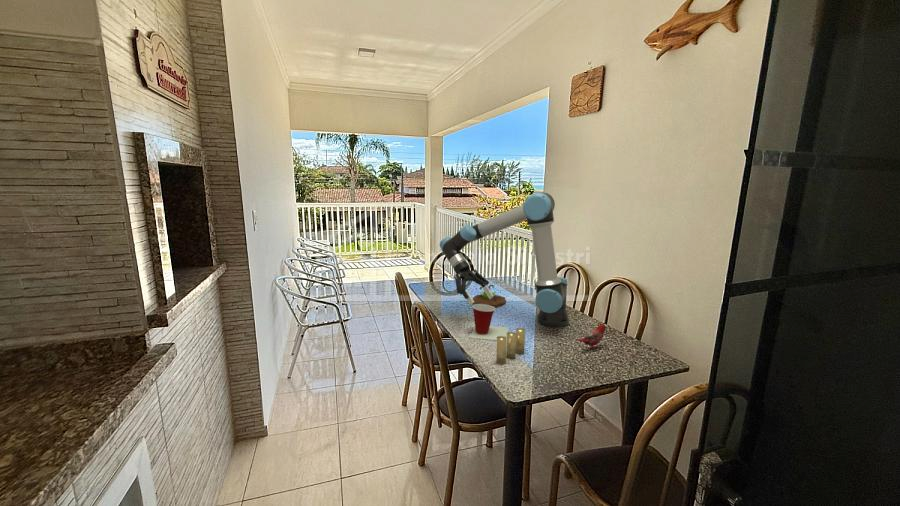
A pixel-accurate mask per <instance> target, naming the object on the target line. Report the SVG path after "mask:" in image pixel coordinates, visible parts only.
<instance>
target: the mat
mask: <svg viewBox="0 0 900 506" xmlns="http://www.w3.org/2000/svg"><path fill="white" fill-rule="evenodd" d="M509 330H510V329H509V327H508V326H497V325H490V326H489V331H488V333H484V334H483V333H477V332H476V330H475V326H474V328H473V329H472V332H471V334H470V336H469V339H470V340H471V339H474V340H484V341H496V342H497V337H498V336H504V337H506V339H507V333H508V332H509Z"/></svg>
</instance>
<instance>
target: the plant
mask: <svg viewBox="0 0 900 506" xmlns="http://www.w3.org/2000/svg"><path fill="white" fill-rule="evenodd" d="M488 287H489V289H490V290H491V287H492V288H493V289H494V288H495V285H494V284H489V285H488ZM479 290H483V287H482V286H480V287H479ZM483 291H484V290H483ZM483 291H482V292H481V293H480V292H479V294H476V295H474V296H473V297H472V299H473V301H474V303H473V304H472V305H474V304H486V305H490V306H493V307H494V308H495V309H498V308H500V307H503V306H505V305H506V303H507V299H506V297H505V296H502V295H498V294H496V291H493V292H491V293H492V294H493V297H492V298H491V299H489V298H488V296H487V294H486V293H485V291H484V292H483ZM472 305H471V306H472Z"/></svg>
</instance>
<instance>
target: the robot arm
mask: <svg viewBox="0 0 900 506" xmlns="http://www.w3.org/2000/svg"><path fill="white" fill-rule="evenodd" d="M555 205H556V202H555V199H554V198H553V196H552V195H551V194H549V193H547V192H543V191H542V192H534V193H532V194H530V195H529V196H527V198H525V200H524V202H523V203H522V204H521V205H519V206H517V207H515V208H512V209H510V210H509V209H508V210H507V211H505V212H503V213H500V214H498V215H496V216H493V217H491V218H489V219H486V220H484V221H481V222H478V223H477V224H474V225H469V224H465V225H464V226H463V227H462V228H460V229H459V231H457V233H456V234H454V235H453V236H452V237H451V236H446V237H445V238H443V239H441V241H440V242H439V248H440V250H441V252H442V253H443V254H444V256H445V258H446V259H447V260H448V263H449V264H450V265H451V267H452V269H453V271H454V272H455V275H454V276H453V278H454V281H455V285H456V292H457V294H459V295H461V296H463V298H464V299H465V300H466V301H467V303H468V304H469V306H472V304H473V303H474V301H473V297H472V296H471V294H470V293H469V291H468V290H466V287H467V282H474V283H476V284H478V285H479V286H480V287H482V290H483V291H485V293H486V294H487V296H488V298H489V299H491V298H492V297H493V294H492V293H493V292H492V291H491V288H490V289H489V285H490V281H488V279H486V278H485V277H484V276H483V275H481V273H479V272H478V270H477V269H473V270H471V266H470V264H469V263H468V262H467V260H466V258H465V256H464V255H463V253H462V252H461V250H462V249H464V248H465V247H466V246H467V245H468V244H470V243H473V242H475V241H478V240H480V239H483V238H485V237H487V236H490V235H493V234H495V233H498V232H500V231H502V230H505V229H507V228H510V227H512V226H515V225H517V224H520V223H522V222H525V221H526V222H527V226H528V227H530V228H531V235H532V242H533V249H534V250H533V251H534V258H535V265H536V266H535V267H536V271H537V272H536V273H537V280H536V281H535V291H536V295H535V297H534V298H535V304H536V306H537V308H538V309H539V312H538V314H537V323H538V324H540V325H542V326H545V327H551V328H565V327H568V325H569V323H570V318H569V315H568V311H567V292H568V290H567V289H568V279H566V278H565V277H562V276H558V272H557V264H556V263H557V262H556V255H555V247H554V239H553V238H554V237H553V231H552V225H553V223H554V222H555V217H554V210H555Z"/></svg>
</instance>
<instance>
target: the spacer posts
mask: <svg viewBox="0 0 900 506" xmlns="http://www.w3.org/2000/svg"><path fill="white" fill-rule="evenodd" d="M525 340H526V329H525V328H523V327H518V328H517V327H516V329H515V332H514V331H508V333H507V338H506V337H504V336H498V337H497V341H496V364H498V365H505V364H506V363H507V359H508V360H515V359H516V355H519V356H521V355H525V347H526V346H525V345H526V344H525V343H526V341H525Z"/></svg>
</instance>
